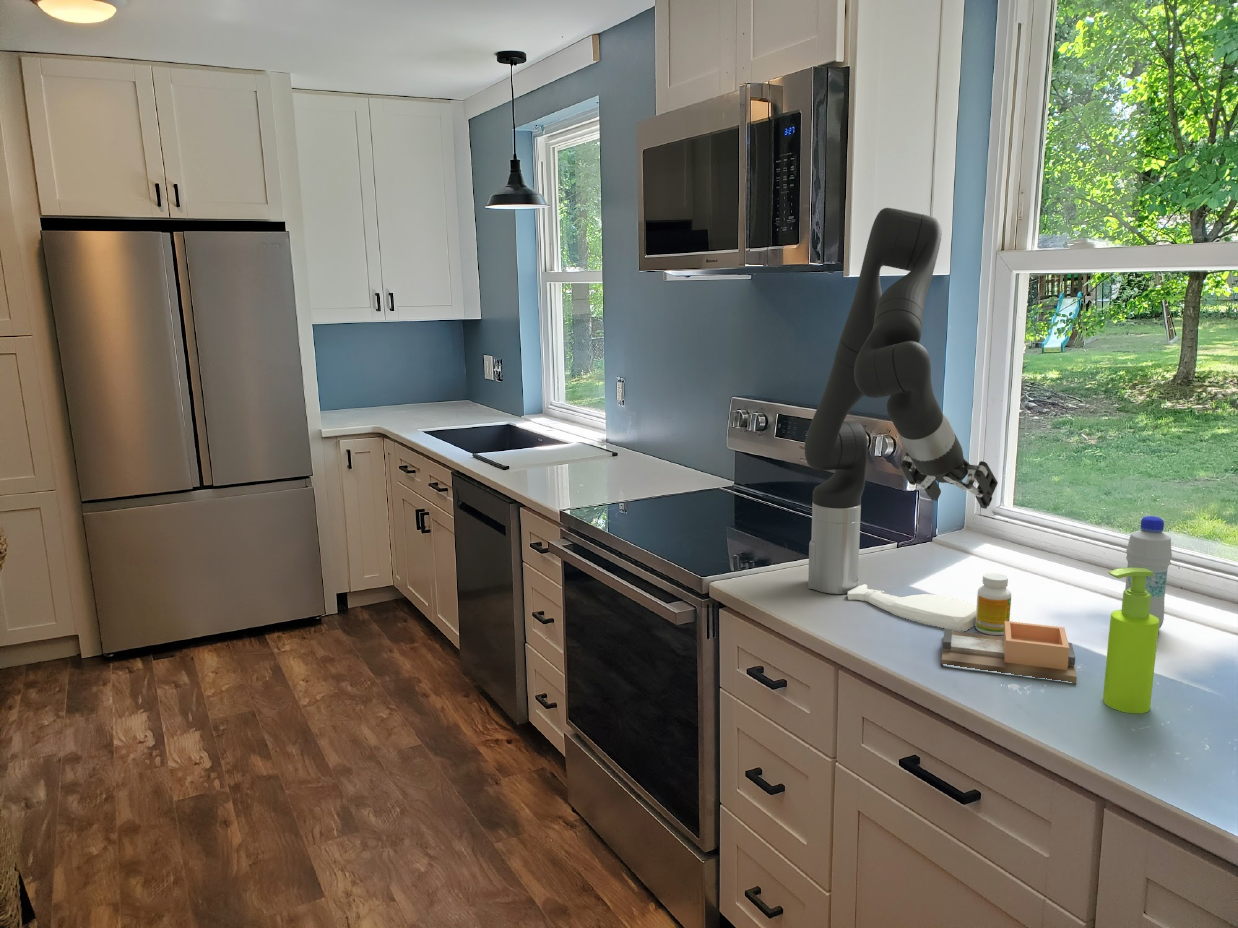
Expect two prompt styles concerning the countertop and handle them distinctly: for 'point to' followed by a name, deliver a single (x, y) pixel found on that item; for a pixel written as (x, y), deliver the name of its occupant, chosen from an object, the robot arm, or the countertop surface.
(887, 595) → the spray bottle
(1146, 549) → the bottle
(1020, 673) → the rail board
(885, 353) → the robot arm
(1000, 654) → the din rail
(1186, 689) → the countertop surface
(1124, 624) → the soap dispenser
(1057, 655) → the orange open box
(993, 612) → the supplement bottle
